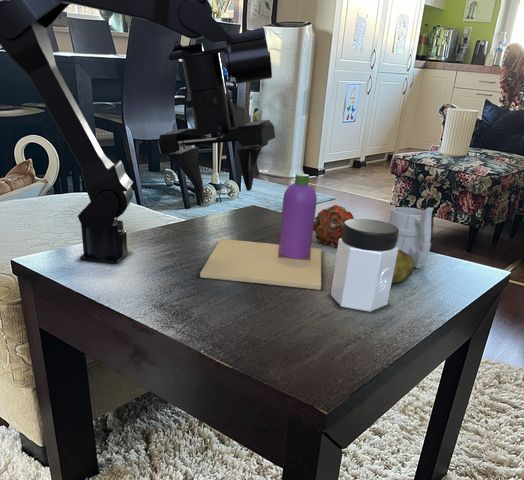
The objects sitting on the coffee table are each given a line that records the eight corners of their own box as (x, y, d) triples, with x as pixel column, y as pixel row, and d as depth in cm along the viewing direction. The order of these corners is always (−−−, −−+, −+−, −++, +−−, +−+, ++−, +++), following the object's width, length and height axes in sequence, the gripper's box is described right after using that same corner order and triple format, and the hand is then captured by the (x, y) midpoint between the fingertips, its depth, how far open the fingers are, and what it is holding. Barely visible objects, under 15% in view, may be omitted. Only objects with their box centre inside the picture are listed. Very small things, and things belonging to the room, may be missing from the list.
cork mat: (200, 277, 88) (200, 272, 88) (220, 242, 106) (220, 238, 105) (320, 289, 87) (321, 284, 87) (320, 252, 105) (321, 248, 104)
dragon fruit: (336, 261, 106) (318, 251, 117) (371, 236, 105) (350, 228, 116) (315, 225, 102) (298, 218, 113) (351, 199, 102) (330, 194, 113)
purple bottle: (293, 260, 97) (301, 179, 90) (271, 251, 101) (278, 172, 94) (316, 255, 100) (326, 177, 93) (295, 246, 104) (303, 170, 97)
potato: (421, 292, 90) (431, 245, 86) (345, 288, 89) (353, 241, 85) (407, 274, 97) (416, 231, 93) (337, 270, 96) (343, 227, 92)
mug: (406, 255, 107) (418, 194, 102) (439, 276, 98) (455, 210, 92) (372, 256, 105) (383, 194, 100) (402, 277, 95) (417, 210, 90)
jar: (362, 316, 79) (376, 237, 73) (320, 298, 84) (331, 223, 78) (396, 302, 85) (411, 228, 79) (355, 286, 90) (367, 215, 84)
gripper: (281, 75, 84) (293, 176, 92) (182, 90, 92) (200, 182, 100) (252, 83, 76) (268, 194, 83) (145, 99, 84) (168, 198, 91)
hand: (224, 191), depth 90 cm, fingers open, 9 cm apart
